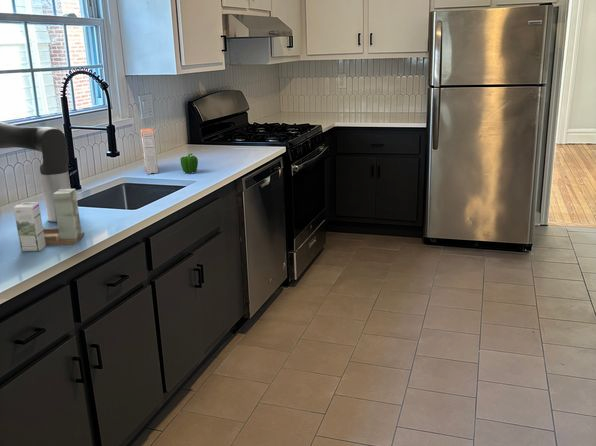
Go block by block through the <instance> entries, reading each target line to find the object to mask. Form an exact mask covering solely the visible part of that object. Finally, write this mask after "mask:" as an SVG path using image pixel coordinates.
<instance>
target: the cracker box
mask: <svg viewBox="0 0 596 446" xmlns="http://www.w3.org/2000/svg"><path fill="white" fill-rule="evenodd" d="M140 136H141V137H140V138H141V143H142V152H143V153H142V154H143V161H144V169H145V172H147V173H146V175H147V174H149V173H158V174H159V166H158V157H157V148H156V138H155V137H156V136H155V132H154V129H153V128H152V127H148V128H147V127H143V128H140ZM149 175H150V174H149Z"/></svg>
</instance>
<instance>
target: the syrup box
mask: <svg viewBox="0 0 596 446" xmlns="http://www.w3.org/2000/svg"><path fill="white" fill-rule="evenodd" d="M12 209H13V215H14V218H15V219H14V220H15V224H16V225H15V226H16V229H17V236H18V240H19V246H20V252H21V253H25V252H26V253H27V252H29V253H30V252H40V251H41V250H43V249H44V248H45V247H46V246H47V245H46V243H45V238H44V232H43V229H44V226H43V220H42V214H41V207H40V203H39V201H32V202H19V203H17V204H16V205H14V207H13V208H12Z"/></svg>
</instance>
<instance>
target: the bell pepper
mask: <svg viewBox="0 0 596 446" xmlns="http://www.w3.org/2000/svg"><path fill="white" fill-rule="evenodd" d="M179 161H180V166H181V170H182V171H183V173H184V172H185V173H184V174H193V173H192V172H195V173H196V172H197V170H198V166H199V165H198V164H199V159H198V158H197V157H196V156H195V155H193V152H189V153H188V154H187V156H181V157H180V160H179Z"/></svg>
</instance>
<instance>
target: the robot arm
mask: <svg viewBox="0 0 596 446" xmlns="http://www.w3.org/2000/svg"><path fill="white" fill-rule="evenodd" d="M10 148H11V149H12V148H20V149H27V150H31V151H32V150H33V151H37V152H40V153H42V164H40V166H39V173H40V178H41V183H42V191H43V196H44V203H45V209H46V216H47V221H49V222H52V223H54V222H55V223H57V219H56V212H55V204H54V198H53V193H55V192H56V191H58V190H59V189H72V187H71V183H70V181H71V180H70V174H69V164H70V159H69V158H70V157H69V149H68V148H69V147H68V140H67V137H66V135H65V133H64V132H63V131H62V130H61V129H59V128H56V127H51V126H18V125H15V124H11V123H7V122H2V121H0V149H10Z"/></svg>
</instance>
